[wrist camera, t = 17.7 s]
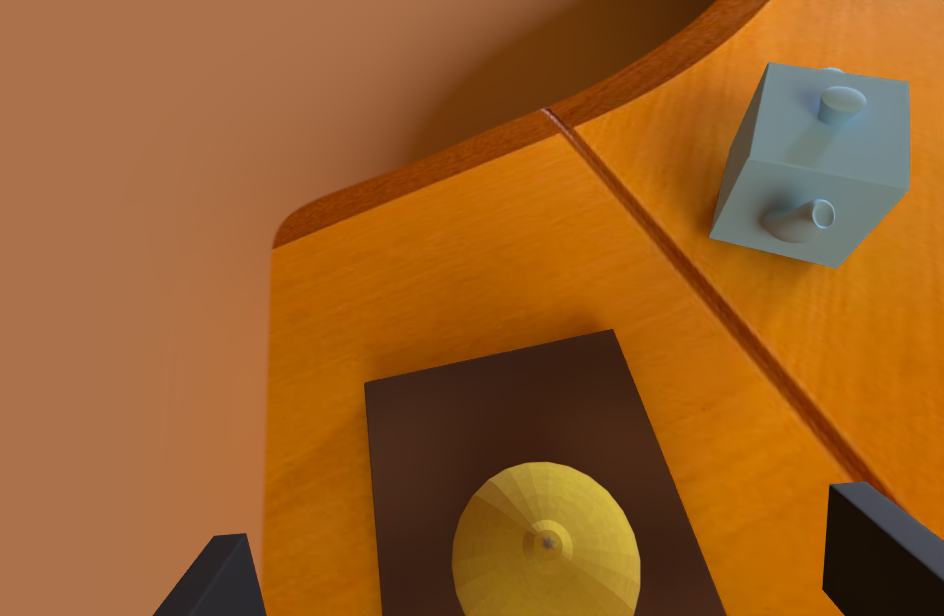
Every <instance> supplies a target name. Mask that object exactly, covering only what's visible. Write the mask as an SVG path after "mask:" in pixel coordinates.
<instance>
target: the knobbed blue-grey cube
mask: <svg viewBox="0 0 944 616" xmlns="http://www.w3.org/2000/svg"><path fill="white" fill-rule="evenodd" d="M909 183H910V102H909V82H905V81H897V80H890V79H883V78H876V77H869V76H862V75H855V74H848V73H844V72H843V71H841V70H840V69H836V68H825V69H822V70H820V69H813V68H805V67H797V66H790V65H783V64H776V63H768V64H767V66H766V69H765V71H764V73H763V75H762V78H761V80H760V82H759V84H758V87H757V89H756V91H755V93H754V96H753V98H752V100H751V103H750V105H749V107H748V109H747V112H746V114H745V116H744V118H743V121H742V123H741V125H740V127H739V130H738V132H737V134H736V136H735V139H734V141H733V143H732V146H731V148H730V151H729V155H728V159H727V163H726V168H725V172H724V176H723V180H722V184H721V188H720V192H719V197H718V201H717V205H716V209H715V213H714V218H713V222H712V226H711V230H710V235H709V238H711V239H715V240H720V241H724V242H728V243H732V244H736V245H741V246H745V247H749V248H753V249H757V250H761V251H766V252H770V253H774V254H778V255H782V256H787V257H791V258H795V259H799V260H803V261H807V262H811V263H816V264H820V265H824V266H828V267H832V268H838V267H839V266H840V265H841V264H842V263H843V262H844V261H845V260H846V259H847V258H848V257H849V255H850V254H851V253H852V252H853V251H854V250H855V249H856V248H857V247H858V246H859V245H860V243H861V242H862V241H863V240H864V239H865V238H866V237H867V236H868V235H869V234H870V232H871V231H872V230H873V229H874V228H875V227H876V226H877V225H878V224H879V223H880V222H881V220H882V219H883V218H884V217H885V216H886V215H887V214H888V213H889V212H890V211H891V209H892V208H893V207H894V206H895V205H896V204H897V203H898V202H899V201H900V200H901V199H902V197H903V196H904V195H905V194H906V193H907V192H908V191H909Z"/></svg>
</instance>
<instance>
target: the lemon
mask: <svg viewBox="0 0 944 616" xmlns="http://www.w3.org/2000/svg"><path fill="white" fill-rule="evenodd" d="M452 571H453V577H454V583H455V589H456V594H457V596H458V599H459V601H460V604H461V606H462V609H463V611H464V614H465V616H633V615H634V612H635V608H636V604H637V599H638V595H639V591H640V557H639V552H638V548H637V544H636V539H635V535H634V533H633V531H632V528H631V526H630V524H629V522H628V520H627V518H626V516H625V514H624V512H623V510H622V509H621V508H620V506H619V505H618V504H617V503H616V501H615V500H614V499H613V498H612V496H611V495H610V494H609V492H608V491H607V490H606V489H604V488H603V487H602V486H601V485H599V484H598V483H597V482H596V481H595V480H593V479H592V478H591V477H590V476H588V475H586V474H584V473H582V472H579V471H577V470H575V469H573V468H571V467H569V466H564V465H560V464H555V463H551V462H531V463H524V464H521V465H517V466H514V467H511V468H508V469H505V470H504V471H502V472H500V473H499V474H497V475H495V476H494V477H492V478H491V479H489V480H488V481H487V482H486V483H485V484H484V485H483V486H482V487H481V488H480V489H479V490H478V491H477V492H476V493H475V494H474V495H473V496H472V498H471V499H470V501H469V503H468V505H467V506H466V508H465V510H464V512H463V513H462V515H461V517H460V520H459V523H458V527H457V530H456V533H455V537H454V540H453V554H452Z"/></svg>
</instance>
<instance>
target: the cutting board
mask: <svg viewBox="0 0 944 616" xmlns="http://www.w3.org/2000/svg"><path fill="white" fill-rule="evenodd" d="M364 388H365V400H366V413H367V425H368V438H369V451H370V463H371V476H372V489H373V501H374V514H375V526H376V539H377V552H378V564H379V577H380V590H381V602H382V615H383V616H465V614H464V611H463V609H462V606H461V604H460V601H459V599H458V596H457V594H456V589H455V583H454V577H453V571H452V554H453V540H454V537H455V533H456V530H457V527H458V523H459V520H460V517H461V515H462V513H463V512H464V510H465V508H466V506H467V505H468V503H469V501H470V499H471V498H472V496H473V495H474V494H475V493H476V492H477V491H478V490H479V489H480V488H481V487H482V486H483V485H484V484H485V483H486V482H487V481H488V480H489V479H491V478H492V477H494V476H495V475H497V474H499V473H500V472H502V471H504V470H505V469H508V468H511V467H514V466H517V465H521V464H524V463H531V462H551V463H555V464H560V465H564V466H569V467H571V468H573V469H575V470H577V471H579V472H582V473H584V474H586V475H588V476H590V477H591V478H592V479H593V480H595V481H596V482H597V483H598V484H599V485H601V486H602V487H603V488H604V489H606V490H607V491H608V492H609V494H610V495H611V496H612V498H613V499H614V500H615V501H616V503H617V504H618V505H619V506H620V508H621V509H622V510H623V512H624V514H625V516H626V518H627V520H628V522H629V524H630V526H631V528H632V531H633V533H634V535H635V539H636V544H637V548H638V552H639V557H640V591H639V595H638V599H637V604H636V608H635V612H634V615H633V616H727V615H726V612H725V610H724V607H723V605H722V602H721V600H720V597H719V595H718V592H717V590H716V587H715V585H714V582H713V580H712V577H711V574H710V572H709V569H708V567H707V564H706V562H705V559H704V557H703V554H702V552H701V549H700V547H699V544H698V542H697V539H696V537H695V534H694V532H693V529H692V527H691V524H690V522H689V519H688V517H687V514H686V511H685V509H684V506H683V504H682V501H681V499H680V496H679V494H678V491H677V489H676V486H675V484H674V481H673V479H672V476H671V474H670V471H669V469H668V466H667V464H666V461H665V459H664V456H663V454H662V451H661V448H660V446H659V443H658V441H657V438H656V436H655V433H654V431H653V428H652V426H651V423H650V421H649V418H648V416H647V413H646V411H645V408H644V406H643V403H642V401H641V398H640V396H639V393H638V391H637V388H636V385H635V383H634V380H633V378H632V375H631V373H630V370H629V368H628V365H627V363H626V360H625V358H624V355H623V353H622V350H621V348H620V345H619V343H618V340H617V338H616V335H615V333H614V330H613V329H610V330H605V331H601V332H596V333H591V334H587V335H582V336H578V337H573V338H568V339H564V340H559V341H554V342H550V343H545V344H541V345H536V346H531V347H527V348H522V349H517V350H513V351H508V352H503V353H499V354H494V355H490V356H485V357H480V358H476V359H471V360H466V361H462V362H457V363H453V364H448V365H443V366H439V367H434V368H429V369H425V370H420V371H415V372H411V373H406V374H402V375H397V376H392V377H388V378H383V379H378V380H374V381H369V382H365V383H364Z"/></svg>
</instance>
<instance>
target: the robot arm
mask: <svg viewBox="0 0 944 616" xmlns="http://www.w3.org/2000/svg"><path fill="white" fill-rule="evenodd" d="M822 589H823V591H824V592H825V593H826V594H827V595H828V597H829V598H830V599H831V600H832V601H833V602H834V604H835V605H836V606H837V607H838V608H839V609H840V611H841V612H842V613H843V614H844V615H845V616H944V541H943V540H942V539H940V538H939V537H938V536H936V535H935V534H934V533H933V532H931V531H930V530H929V529H927V528H926V527H925V526H923V525H922V524H921V523H919V522H918V521H917V520H915V519H914V518H913V517H912V516H910V515H909V514H908V513H906V512H905V511H904V510H902V509H901V508H900V507H898V506H897V505H896V504H894V503H893V502H892V501H890V500H889V499H888V498H887V497H885V496H884V495H883V494H881V493H880V492H879V491H877V490H876V489H875V488H873V487H872V486H871V485H869V484H868V483H867V482H866V481H865V482H853V483H841V484H830V485H829V500H828V514H827V529H826V543H825V558H824V572H823V587H822ZM153 616H267V615H266V611H265V607H264V603H263V599H262V595H261V591H260V587H259V583H258V579H257V575H256V571H255V567H254V563H253V559H252V555H251V551H250V547H249V543H248V539H247V535H246V533H242V534H231V535H219V536H213V538H212V539H211V540H210V542H209V543H208V544H207V545H206V547H205V548H204V549H203V551H202V552H201V553H200V555H199V556H198V557H197V559H196V560H195V561H194V562H193V564H192V565H191V566H190V568H189V569H188V570H187V572H186V573H185V574H184V575H183V577H182V578H181V579H180V581H179V582H178V583H177V585H176V586H175V587H174V589H173V590H172V591H171V592H170V594H169V595H168V596H167V598H166V599H165V600H164V601H163V603H162V604H161V605H160V607H159V608H158V609H157V611H156V612H155V613H154V615H153Z"/></svg>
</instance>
